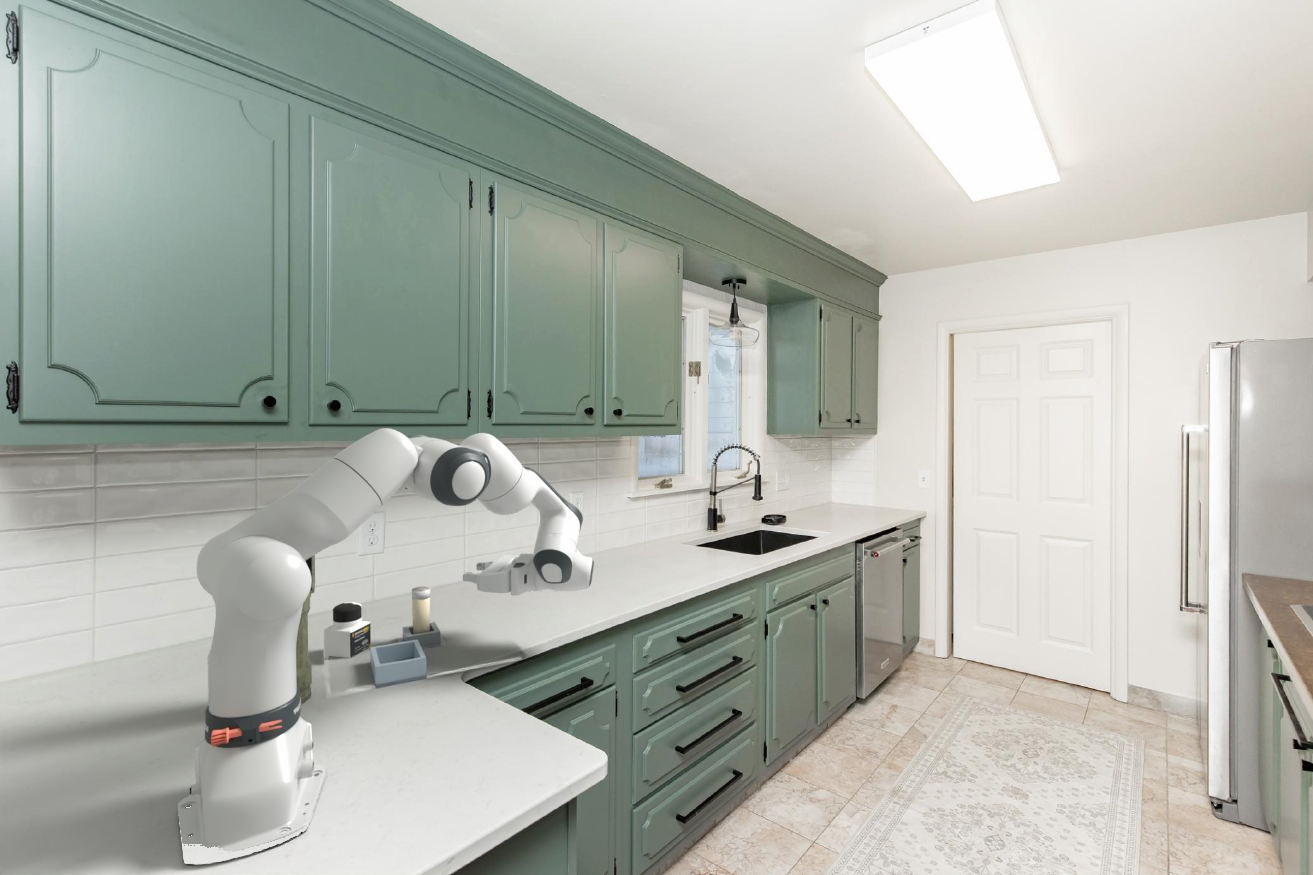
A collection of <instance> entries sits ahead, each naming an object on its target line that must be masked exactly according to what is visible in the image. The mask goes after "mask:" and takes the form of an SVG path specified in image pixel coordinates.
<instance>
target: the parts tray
mask: <svg viewBox="0 0 1313 875" xmlns="http://www.w3.org/2000/svg"><path fill="white" fill-rule="evenodd" d="M369 649H370V650H369V651H370V653H369V654H370V655H369V656H370V658H369V660H370V667H371V671H372V674H373V678H374V687H375V689H379V688H384V687H385V688H386V687H390V686H395V685H401V684H406V683H409V682H410V683H411V682H416V681H421V680H425V679H426V680H427V657H426V654H425V652H424V649H422V648H421V645H420V643H419V641H418V640H412V641H406V642H400V643H398V642H394V643H389V644H382V645H376V646H371V647H370V648H369Z"/></svg>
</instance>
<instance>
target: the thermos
mask: <svg viewBox="0 0 1313 875" xmlns="http://www.w3.org/2000/svg"><path fill="white" fill-rule="evenodd" d="M315 557H316V554H315V555H314V556H312V557H310V558H309V559H307V560H306V561H305V562H306V564H307V566H308V568H309V570H310V573H311V578H312V583H311V589H310V592H309V594H308V596H307V598H306V600H305V601H304V603H303V608H302V613H301V618H300V623H299V628H298V634H297V642H296V682H297V688H298V689H299V691H300V697H301V705H302V704H303V703H305V702H308V701H309V699H310V698H311V697H312V691H311V689H312V688H311V686H312V683H313V682H312V680H313V679H312V678H313V677H312V676H313V673H312V672H313V671H312V670H313V669H312V668H313V666H312V660H311V659H310V656H309V621H308V620H309V618H308V615H309V613H310V610H311V598H312V594H314V593H315V589H316V564H315V563H316V562H315V560H316V559H315Z"/></svg>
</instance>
